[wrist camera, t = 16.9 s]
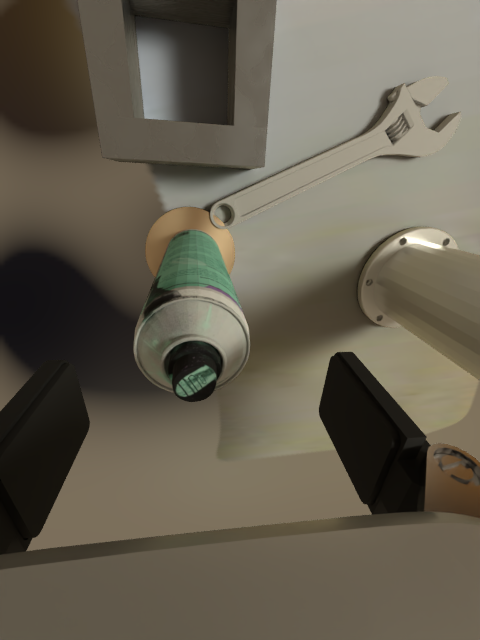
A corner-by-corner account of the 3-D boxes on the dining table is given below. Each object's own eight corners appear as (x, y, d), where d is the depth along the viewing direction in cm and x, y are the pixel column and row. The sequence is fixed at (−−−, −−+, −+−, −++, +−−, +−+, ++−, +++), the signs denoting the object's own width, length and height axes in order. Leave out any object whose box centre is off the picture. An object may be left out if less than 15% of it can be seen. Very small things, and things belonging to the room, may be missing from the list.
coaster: (235, 208, 27) (236, 209, 26) (232, 292, 31) (233, 295, 31) (141, 205, 26) (140, 205, 25) (151, 293, 30) (150, 296, 29)
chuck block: (262, -13, 20) (281, -66, 16) (252, 169, 26) (264, 166, 21) (91, -41, 19) (59, -109, 14) (118, 161, 24) (102, 157, 20)
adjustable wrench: (215, 232, 29) (216, 235, 27) (191, 165, 25) (190, 164, 24) (444, 146, 28) (458, 144, 26) (446, 67, 25) (463, 60, 23)
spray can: (156, 265, 28) (94, 413, 10) (181, 217, 26) (157, 295, 9) (204, 290, 30) (219, 450, 12) (230, 247, 28) (291, 359, 10)
